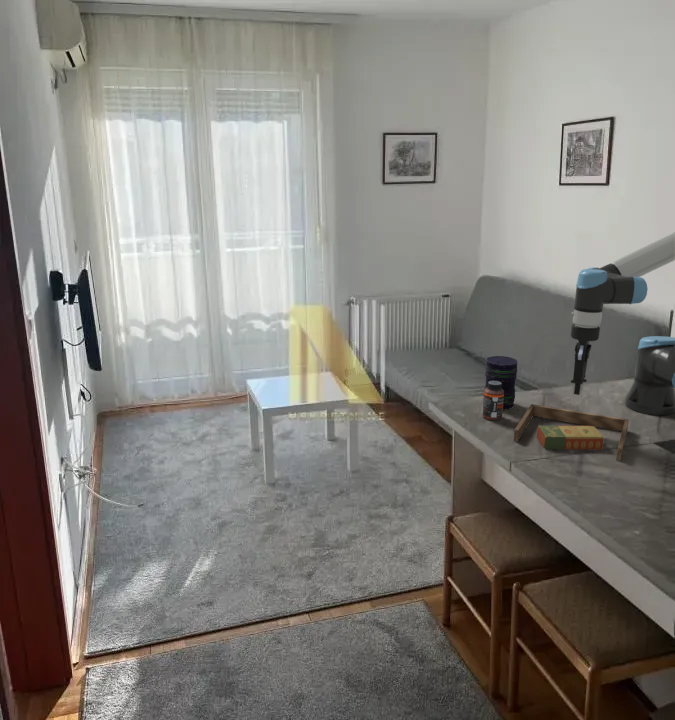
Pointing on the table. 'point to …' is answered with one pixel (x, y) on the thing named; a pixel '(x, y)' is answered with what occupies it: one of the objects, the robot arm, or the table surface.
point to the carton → (569, 437)
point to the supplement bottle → (493, 401)
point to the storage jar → (503, 376)
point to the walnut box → (574, 421)
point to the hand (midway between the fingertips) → (575, 403)
